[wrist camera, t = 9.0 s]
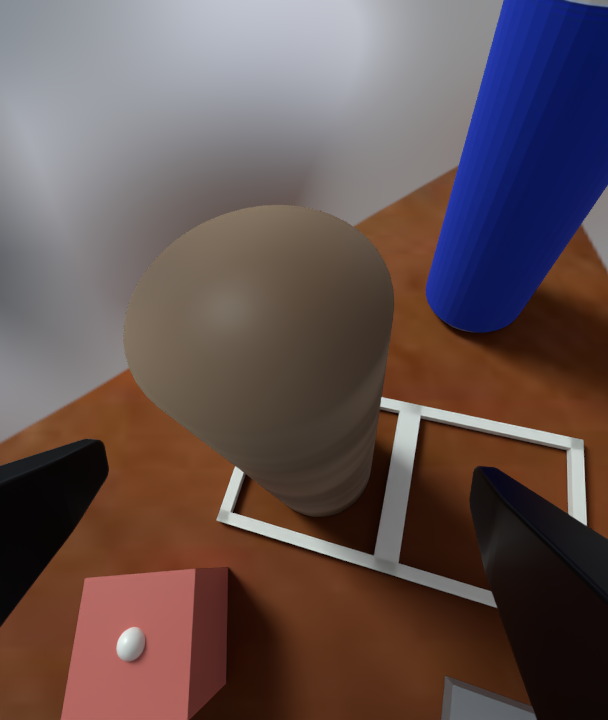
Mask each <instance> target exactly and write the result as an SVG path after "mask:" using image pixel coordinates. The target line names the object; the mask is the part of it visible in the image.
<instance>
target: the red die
mask: <svg viewBox="0 0 608 720" xmlns="http://www.w3.org/2000/svg"><path fill="white" fill-rule="evenodd" d="M227 604H228V567H221V568H201V569H187V570H176V571H164V572H152V573H140V574H129V575H117V576H105V577H94V578H85V582H84V588H83V594H82V599H81V605H80V611H79V617H78V623H77V629H76V634H75V640H74V646H73V652H72V658H71V663H70V669H69V675H68V681H67V687H66V693H65V698H64V704H63V710H62V716H61V720H190V719H191V718H192V717H193V716H194V715H195V714H196V713H197V712H198V711H199V710H200V709H201V708H202V707H203V706H204V705H205V704H206V703H207V702H208V701H209V700H210V699H211V698H212V697H213V696H214V695H215V694H216V693H217V692H218V691H219V690H220V689H221V688H222V687H223V686H224V685H225V684H226V661H227Z"/></svg>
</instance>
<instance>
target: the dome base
mask: <svg viewBox="0 0 608 720" xmlns="http://www.w3.org/2000/svg"><path fill="white" fill-rule="evenodd" d="M441 720H537V719H536V716H535V713H534V710H533V707H532V706H529V705H527V704H524V703H521V702H518V701H515V700H513V699H510V698H507V697H504V696H501V695H499V694H496V693H493V692H490V691H487V690H485V689H482V688H479V687H476V686H474V685H471V684H468V683H465V682H462V681H460V680H457V679H454V678H451V677H448V676H446V675H445V684H444V695H443V706H442V717H441Z"/></svg>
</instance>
